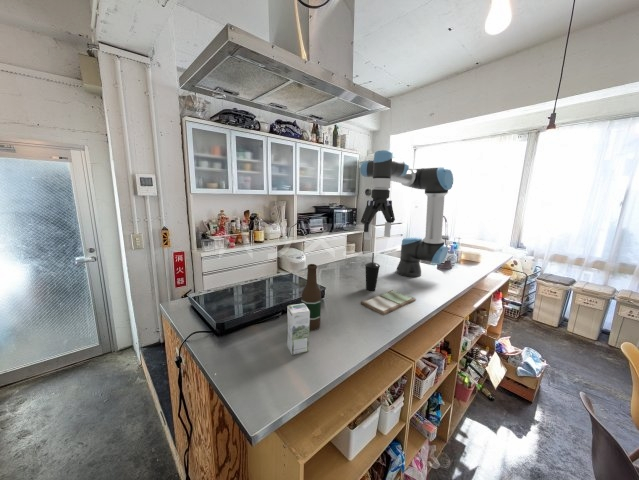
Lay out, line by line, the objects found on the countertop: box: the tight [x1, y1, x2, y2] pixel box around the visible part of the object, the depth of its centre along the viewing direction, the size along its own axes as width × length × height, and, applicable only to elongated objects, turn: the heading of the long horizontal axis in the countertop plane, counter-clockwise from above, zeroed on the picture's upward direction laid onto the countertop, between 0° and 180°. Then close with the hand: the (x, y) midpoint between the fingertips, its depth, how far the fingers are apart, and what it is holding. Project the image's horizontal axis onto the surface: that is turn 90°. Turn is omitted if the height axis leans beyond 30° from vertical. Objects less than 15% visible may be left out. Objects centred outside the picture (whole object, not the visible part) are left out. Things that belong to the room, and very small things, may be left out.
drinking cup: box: [364, 252, 381, 293], centre depth 131 cm, size 8×8×20 cm
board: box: [360, 289, 416, 316], centre depth 118 cm, size 24×13×1 cm, turn 129°
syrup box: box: [286, 303, 310, 356], centre depth 80 cm, size 6×6×14 cm
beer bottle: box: [300, 263, 322, 331], centre depth 93 cm, size 8×8×24 cm
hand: (377, 238), depth 111 cm, fingers open, 13 cm apart
